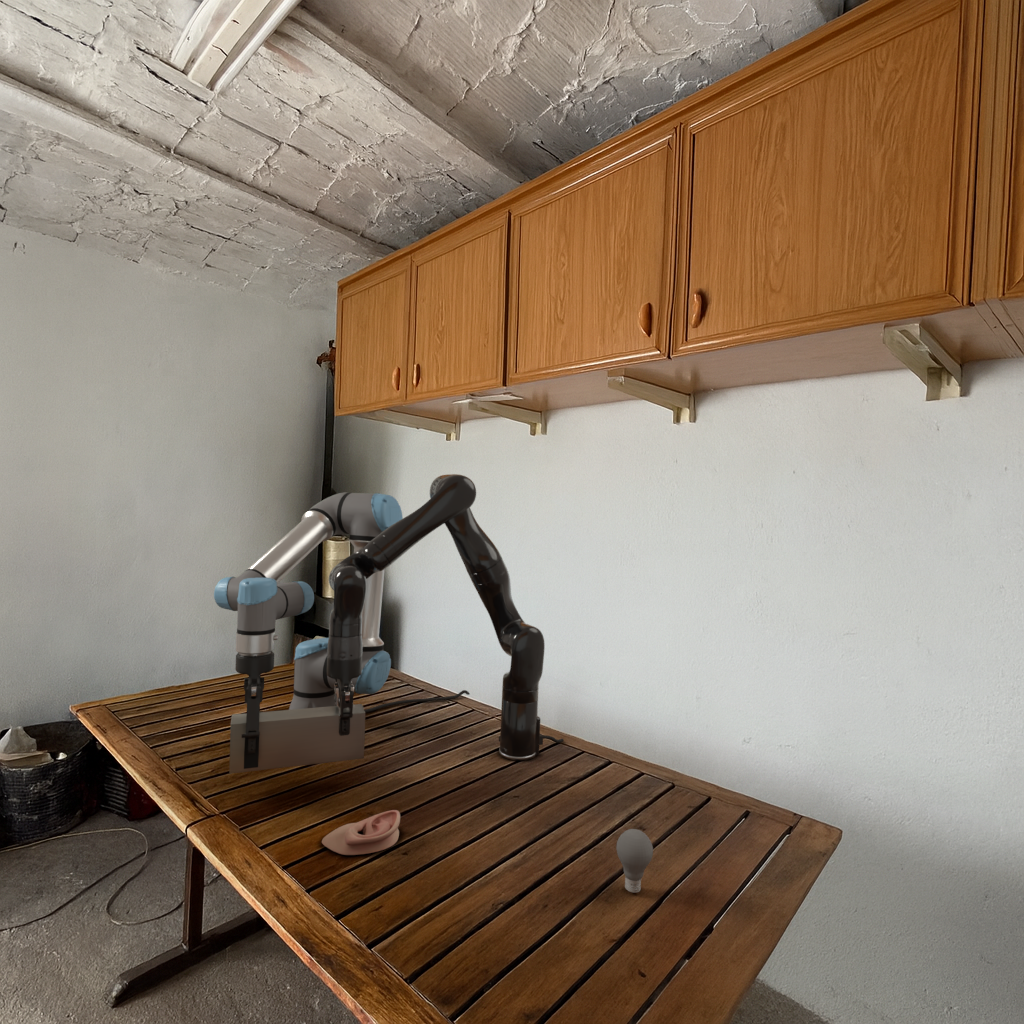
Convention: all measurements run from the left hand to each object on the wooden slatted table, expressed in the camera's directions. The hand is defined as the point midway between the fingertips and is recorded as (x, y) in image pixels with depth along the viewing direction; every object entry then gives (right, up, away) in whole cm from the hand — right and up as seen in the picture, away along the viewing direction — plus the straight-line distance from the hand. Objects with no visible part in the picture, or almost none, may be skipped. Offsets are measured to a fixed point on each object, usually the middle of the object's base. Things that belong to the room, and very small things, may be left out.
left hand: (251, 757), depth 134 cm
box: (+9, -2, +4) cm, 10 cm away
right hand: (+17, +4, +7) cm, 19 cm away
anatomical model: (+27, -9, -16) cm, 33 cm away
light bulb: (+75, -12, -28) cm, 81 cm away
